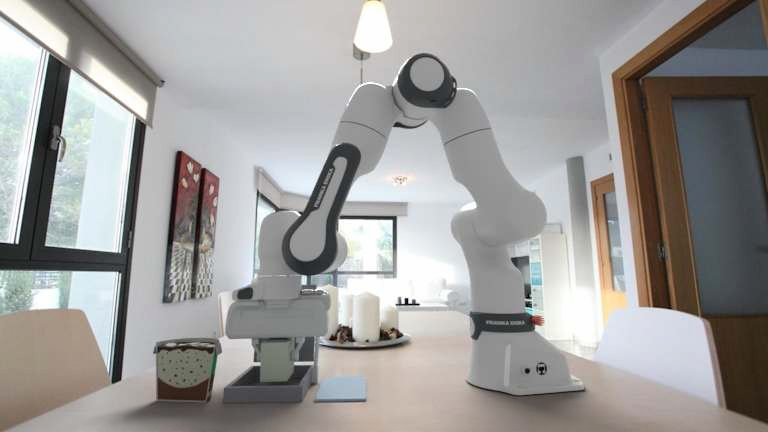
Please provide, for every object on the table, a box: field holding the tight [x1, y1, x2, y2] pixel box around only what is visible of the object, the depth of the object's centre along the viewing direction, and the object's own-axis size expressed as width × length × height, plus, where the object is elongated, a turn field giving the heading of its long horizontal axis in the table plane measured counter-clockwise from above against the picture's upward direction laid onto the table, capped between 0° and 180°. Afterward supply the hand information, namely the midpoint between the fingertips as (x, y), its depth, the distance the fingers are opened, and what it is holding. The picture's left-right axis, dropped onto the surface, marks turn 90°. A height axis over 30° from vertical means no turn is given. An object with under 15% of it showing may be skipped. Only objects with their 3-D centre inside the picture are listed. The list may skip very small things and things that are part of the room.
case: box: [222, 337, 321, 404], centre depth 76 cm, size 15×18×13 cm
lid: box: [253, 284, 318, 363], centre depth 86 cm, size 13×17×1 cm
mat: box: [314, 375, 367, 403], centre depth 74 cm, size 9×15×1 cm, turn 3°
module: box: [259, 337, 295, 383], centre depth 76 cm, size 5×7×7 cm
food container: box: [152, 337, 223, 403], centre depth 71 cm, size 12×6×10 cm, turn 84°
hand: (278, 361), depth 76 cm, fingers closed on module, 5 cm apart
